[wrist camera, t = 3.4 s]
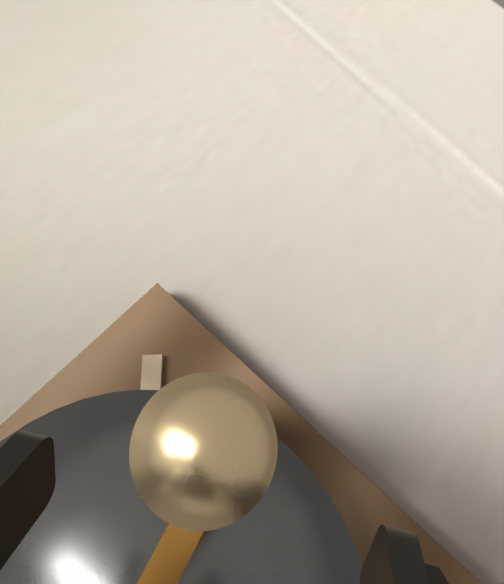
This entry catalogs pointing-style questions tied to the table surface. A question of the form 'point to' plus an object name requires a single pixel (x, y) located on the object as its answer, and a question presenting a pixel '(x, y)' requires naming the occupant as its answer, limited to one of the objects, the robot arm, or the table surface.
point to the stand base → (219, 359)
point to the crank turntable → (180, 495)
